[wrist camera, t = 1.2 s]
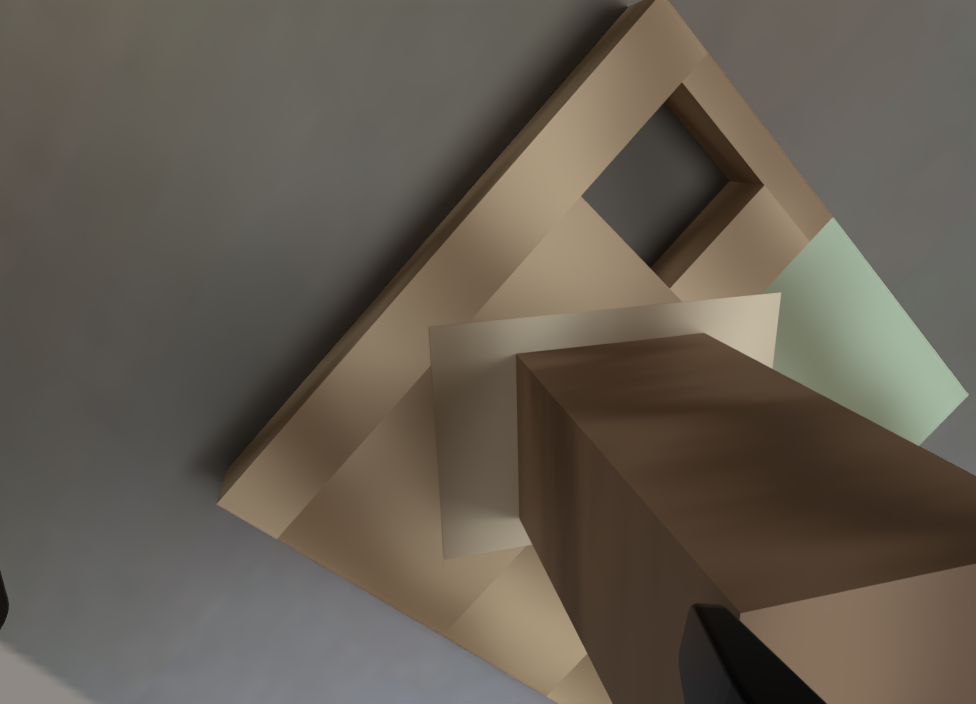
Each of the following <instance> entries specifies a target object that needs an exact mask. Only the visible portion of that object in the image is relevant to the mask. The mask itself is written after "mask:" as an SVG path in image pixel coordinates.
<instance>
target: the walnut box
mask: <svg viewBox="0 0 976 704" xmlns="http://www.w3.org/2000/svg"><path fill="white" fill-rule="evenodd" d="M516 383H517V433H518V483H519V519H520V521H521V523H522V525H523V527H524V529H525V531H526V533H527V535H528V537H529V539H530V541H531V543H532V545H533V547H534V549H535V551H536V553H537V555H538V557H539V559H540V561H541V563H542V565H543V567H544V569H545V571H546V573H547V575H548V577H549V579H550V581H551V583H552V585H553V587H554V589H555V591H556V593H557V595H558V597H559V599H560V601H561V602H562V604H563V606H564V608H565V610H566V612H567V614H568V616H569V618H570V620H571V622H572V624H573V626H574V628H575V630H576V632H577V634H578V636H579V638H580V640H581V642H582V644H583V646H584V648H585V650H586V652H587V654H588V656H589V658H590V660H591V662H592V664H593V666H594V668H595V670H596V672H597V674H598V676H599V678H600V680H601V682H602V684H603V686H604V688H605V690H606V692H607V694H608V696H609V698H610V700H611V702H612V704H685V703H684V697H683V691H682V685H681V679H680V673H679V665H678V654H679V647H680V643H681V639H682V634H683V630H684V626H685V622H686V617H687V613H688V610H689V608H690V606H691V605H693V604H695V603H705V604H719V605H723V606H724V607H726V608H727V609H729V610H730V611H731V612H732V613H733V614H734V615H735V616H736V617H737V618H738V619H739V620H740V621H741V622H742V623H743V624H744V625H745V626H746V627H748V628H749V629H750V630H751V631H752V632H753V633H754V634H755V635H756V636H757V637H758V638H759V639H760V640H761V641H762V642H763V643H764V644H765V645H766V646H767V647H768V648H769V649H771V650H772V651H773V652H774V653H775V654H776V655H777V656H778V657H779V658H780V659H781V660H782V661H783V662H784V663H785V664H786V665H787V666H788V667H789V668H790V669H791V670H793V671H794V672H795V673H796V674H797V675H798V676H799V677H800V678H801V679H802V680H803V681H804V682H805V683H806V684H807V685H808V686H809V687H810V688H811V689H812V690H813V691H814V692H816V693H817V694H818V695H819V696H820V697H821V698H822V699H823V700H824V701H825V702H826V703H827V704H976V476H975V475H973V474H971V473H969V472H967V471H965V470H963V469H961V468H960V467H958V466H956V465H954V464H952V463H950V462H948V461H946V460H944V459H942V458H941V457H939V456H937V455H935V454H933V453H931V452H929V451H927V450H925V449H924V448H922V447H920V446H918V445H916V444H914V443H912V442H910V441H908V440H906V439H905V438H903V437H901V436H899V435H897V434H895V433H893V432H891V431H889V430H888V429H886V428H884V427H882V426H880V425H878V424H876V423H874V422H872V421H870V420H869V419H867V418H865V417H863V416H861V415H859V414H857V413H855V412H853V411H851V410H850V409H848V408H846V407H844V406H842V405H840V404H838V403H836V402H834V401H833V400H831V399H829V398H827V397H825V396H823V395H821V394H819V393H817V392H815V391H814V390H812V389H810V388H808V387H806V386H804V385H802V384H800V383H798V382H797V381H795V380H793V379H791V378H789V377H787V376H785V375H783V374H781V373H779V372H778V371H776V370H774V369H772V368H770V367H768V366H766V365H764V364H762V363H761V362H759V361H757V360H755V359H753V358H751V357H749V356H747V355H745V354H743V353H742V352H740V351H738V350H736V349H734V348H732V347H730V346H728V345H726V344H725V343H723V342H721V341H719V340H717V339H715V338H713V337H711V336H709V335H707V334H706V333H700V334H690V335H681V336H672V337H663V338H654V339H645V340H636V341H627V342H618V343H608V344H599V345H590V346H581V347H572V348H563V349H554V350H545V351H536V352H527V353H517V354H516Z"/></svg>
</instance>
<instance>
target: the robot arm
mask: <svg viewBox="0 0 976 704" xmlns="http://www.w3.org/2000/svg"><path fill="white" fill-rule="evenodd" d="M8 609H9V601H8V597H7V593H6V590H5V586H4V582H3V579H2V575H1V571H0V629H1V627H2V626H3V624H4V622H5V620H6V617H7V614H8ZM678 665H679V673H680V679H681V685H682V691H683V697H684V703H685V704H827V703H826V702H825V701H824V700H823V699H822V698H821V697H820V696H819V695H818V694H817V693H816V692H814V691H813V690H812V689H811V688H810V687H809V686H808V685H807V684H806V683H805V682H804V681H803V680H802V679H801V678H800V677H799V676H798V675H797V674H796V673H795V672H794V671H793V670H791V669H790V668H789V667H788V666H787V665H786V664H785V663H784V662H783V661H782V660H781V659H780V658H779V657H778V656H777V655H776V654H775V653H774V652H773V651H772V650H771V649H769V648H768V647H767V646H766V645H765V644H764V643H763V642H762V641H761V640H760V639H759V638H758V637H757V636H756V635H755V634H754V633H753V632H752V631H751V630H750V629H749V628H748V627H746V626H745V625H744V624H743V623H742V622H741V621H740V620H739V619H738V618H737V617H736V616H735V615H734V614H733V613H732V612H731V611H730V610H729V609H727V608H726V607H724V606H723V605H719V604H705V603H695V604H693V605H691V606H690V608H689V610H688V613H687V617H686V622H685V626H684V630H683V634H682V639H681V643H680V647H679V654H678Z"/></svg>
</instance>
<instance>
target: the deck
mask: <svg viewBox="0 0 976 704" xmlns="http://www.w3.org/2000/svg"><path fill="white" fill-rule="evenodd" d="M700 333H706V334H707V335H709V336H711V337H713V338H715V339H717V340H719V341H721V342H723V343H725V344H726V345H728V346H730V347H732V348H734V349H736V350H738V351H740V352H742V353H743V354H745V355H747V356H749V357H751V358H753V359H755V360H757V361H759V362H761V363H762V364H764V365H766V366H768V367H770V368H772V369H774V370H776V371H778V372H779V373H781V374H783V375H785V376H787V377H789V378H791V379H793V380H795V381H797V382H798V383H800V384H802V385H804V386H806V387H808V388H810V389H812V390H814V391H815V392H817V393H819V394H821V395H823V396H825V397H827V398H829V399H831V400H833V401H834V402H836V403H838V404H840V405H842V406H844V407H846V408H848V409H850V410H851V411H853V412H855V413H857V414H859V415H861V416H863V417H865V418H867V419H869V420H870V421H872V422H874V423H876V424H878V425H880V426H882V427H884V428H886V429H888V430H889V431H891V432H893V433H895V434H897V435H899V436H901V437H903V438H905V439H906V440H908V441H910V442H912V443H914V444H916V445H918V446H919V445H920V444H921V443H922V442H923V441H924V440H925V439H926V438H927V437H928V436H929V435H930V434H931V433H932V432H933V431H934V430H935V429H936V428H937V427H938V426H939V425H940V424H941V423H942V422H943V421H944V420H945V419H946V418H947V417H948V416H949V415H950V414H951V413H952V411H953V410H954V409H955V408H956V407H957V406H958V405H959V404H960V403H961V402H962V401H963V400H964V399H965V398H966V397H967V396H968V393H967V392H966V391H965V390H964V388H963V387H962V386H961V384H960V383H959V382H958V380H957V379H956V378H955V376H954V375H953V374H952V372H951V371H950V370H949V369H948V367H947V366H946V365H945V363H944V362H943V361H942V359H941V358H940V357H939V355H938V354H937V353H936V351H935V350H934V349H933V348H932V346H931V345H930V344H929V342H928V341H927V340H926V338H925V337H924V336H923V334H922V333H921V332H920V330H919V329H918V328H917V327H916V325H915V324H914V323H913V321H912V320H911V319H910V317H909V316H908V315H907V313H906V312H905V311H904V309H903V308H902V307H901V306H900V304H899V303H898V302H897V300H896V299H895V298H894V296H893V295H892V294H891V292H890V291H889V290H888V288H887V287H886V286H885V285H884V283H883V282H882V281H881V279H880V278H879V277H878V275H877V274H876V273H875V271H874V270H873V269H872V267H871V266H870V265H869V264H868V262H867V261H866V260H865V258H864V257H863V256H862V254H861V253H860V252H859V250H858V249H857V248H856V246H855V245H854V244H853V243H852V241H851V240H850V239H849V237H848V236H847V235H846V233H845V232H844V231H843V229H842V228H841V227H840V225H839V224H838V223H837V222H836V220H835V219H834V218H833V216H832V215H831V214H830V212H829V211H828V210H827V208H826V207H825V206H824V204H823V203H822V202H821V201H820V199H819V198H818V197H817V195H816V194H815V193H814V191H813V190H812V189H811V187H810V186H809V185H808V183H807V182H806V181H805V180H804V178H803V177H802V176H801V174H800V173H799V172H798V170H797V169H796V168H795V166H794V165H793V164H792V162H791V161H790V160H789V159H788V157H787V156H786V155H785V153H784V152H783V151H782V149H781V148H780V147H779V145H778V144H777V143H776V141H775V140H774V139H773V138H772V136H771V135H770V134H769V132H768V131H767V130H766V128H765V127H764V126H763V124H762V123H761V122H760V120H759V119H758V118H757V117H756V115H755V114H754V113H753V111H752V110H751V109H750V107H749V106H748V105H747V103H746V102H745V101H744V99H743V98H742V97H741V96H740V94H739V93H738V92H737V90H736V89H735V88H734V86H733V85H732V84H731V82H730V81H729V80H728V78H727V77H726V76H725V75H724V73H723V72H722V71H721V69H720V68H719V67H718V65H717V64H716V63H715V61H714V60H713V59H712V57H711V56H710V55H709V54H708V52H707V51H706V50H705V48H704V47H703V46H702V44H701V43H700V42H699V40H698V39H697V38H696V36H695V35H694V34H693V33H692V31H691V30H690V29H689V27H688V26H687V25H686V23H685V22H684V21H683V19H682V18H681V17H680V15H679V14H678V13H677V12H676V10H675V9H674V8H673V6H672V5H671V4H670V2H669V1H668V0H643V1H641V2H638V3H636V4H633V5H631V6H629V7H628V8H627V9H626V10H625V11H624V12H623V14H622V15H621V16H620V17H619V18H618V19H617V20H616V22H615V23H614V24H613V25H612V26H611V27H610V29H609V30H608V31H607V32H606V33H605V34H604V35H603V37H602V38H601V39H600V40H599V41H598V42H597V44H596V45H595V46H594V47H593V48H592V49H591V50H590V52H589V53H588V54H587V55H586V56H585V57H584V59H583V60H582V61H581V62H580V63H579V64H578V65H577V67H576V68H575V69H574V70H573V71H572V72H571V73H570V75H569V76H568V77H567V78H566V79H565V80H564V82H563V83H562V84H561V85H560V86H559V87H558V88H557V90H556V91H555V92H554V93H553V94H552V95H551V97H550V98H549V99H548V100H547V101H546V102H545V103H544V105H543V106H542V107H541V108H540V109H539V110H538V112H537V113H536V114H535V115H534V116H533V117H532V118H531V120H530V121H529V122H528V123H527V124H526V125H525V127H524V128H523V129H522V130H521V131H520V132H519V133H518V135H517V136H516V137H515V138H514V139H513V140H512V142H511V143H510V144H509V145H508V146H507V147H506V148H505V150H504V151H503V152H502V153H501V154H500V155H499V156H498V158H497V159H496V160H495V161H494V162H493V163H492V165H491V166H490V167H489V168H488V169H487V170H486V171H485V173H484V174H483V175H482V176H481V177H480V178H479V180H478V181H477V182H476V183H475V184H474V185H473V186H472V188H471V189H470V190H469V191H468V192H467V193H466V195H465V196H464V197H463V198H462V199H461V200H460V201H459V203H458V204H457V205H456V206H455V207H454V208H453V210H452V211H451V212H450V213H449V214H448V215H447V216H446V218H445V219H444V220H443V221H442V222H441V223H440V225H439V226H438V227H437V228H436V229H435V230H434V231H433V233H432V234H431V235H430V236H429V237H428V238H427V240H426V241H425V242H424V243H423V244H422V245H421V246H420V248H419V249H418V250H417V251H416V252H415V253H414V254H413V256H412V257H411V258H410V259H409V260H408V261H407V263H406V264H405V265H404V266H403V267H402V268H401V269H400V271H399V272H398V273H397V274H396V275H395V276H394V278H393V279H392V280H391V281H390V282H389V283H388V284H387V286H386V287H385V288H384V289H383V290H382V291H381V293H380V294H379V295H378V296H377V297H376V298H375V299H374V301H373V302H372V303H371V304H370V305H369V306H368V308H367V309H366V310H365V311H364V312H363V313H362V314H361V316H360V317H359V318H358V319H357V320H356V321H355V323H354V324H353V325H352V326H351V327H350V328H349V329H348V331H347V332H346V333H345V334H344V335H343V336H342V338H341V339H340V340H339V341H338V342H337V343H336V344H335V346H334V347H333V348H332V349H331V350H330V351H329V352H328V354H327V355H326V356H325V357H324V358H323V359H322V361H321V362H320V363H319V364H318V365H317V366H316V367H315V369H314V370H313V371H312V372H311V373H310V374H309V376H308V377H307V378H306V379H305V380H304V381H303V382H302V384H301V385H300V386H299V387H298V388H297V389H296V391H295V392H294V393H293V394H292V395H291V396H290V397H289V399H288V400H287V401H286V402H285V403H284V404H283V406H282V407H281V408H280V409H279V410H278V411H277V412H276V414H275V415H274V416H273V417H272V418H271V419H270V421H269V422H268V423H267V424H266V425H265V426H264V427H263V429H262V430H261V431H260V432H259V433H258V434H257V435H256V437H255V438H254V439H253V440H252V441H251V442H250V444H249V445H248V446H247V447H246V448H245V449H244V450H243V452H242V453H241V454H240V455H239V456H238V457H237V459H236V460H235V461H234V462H233V463H232V464H231V465H230V467H229V468H228V469H227V470H226V473H225V477H224V480H223V484H222V487H221V490H220V494H219V497H218V501H217V505H219V506H220V507H222V508H224V509H225V510H227V511H229V512H231V513H232V514H234V515H236V516H238V517H239V518H241V519H243V520H244V521H246V522H248V523H250V524H251V525H253V526H255V527H256V528H258V529H260V530H262V531H263V532H265V533H267V534H268V535H270V536H272V537H274V538H275V539H277V540H279V541H280V542H282V543H284V544H286V545H287V546H289V547H291V548H292V549H294V550H296V551H298V552H299V553H301V554H303V555H304V556H306V557H308V558H310V559H311V560H313V561H315V562H316V563H318V564H320V565H322V566H323V567H325V568H327V569H328V570H330V571H332V572H334V573H335V574H337V575H339V576H340V577H342V578H344V579H346V580H347V581H349V582H351V583H352V584H354V585H356V586H358V587H359V588H361V589H363V590H364V591H366V592H368V593H370V594H371V595H373V596H375V597H376V598H378V599H380V600H382V601H383V602H385V603H387V604H388V605H390V606H392V607H394V608H395V609H397V610H399V611H400V612H402V613H404V614H406V615H407V616H409V617H411V618H412V619H414V620H416V621H418V622H419V623H421V624H423V625H424V626H426V627H428V628H430V629H431V630H433V631H435V632H436V633H438V634H440V635H442V636H443V637H445V638H447V639H448V640H450V641H452V642H454V643H455V644H457V645H459V646H460V647H462V648H464V649H466V650H467V651H469V652H471V653H472V654H474V655H476V656H478V657H479V658H481V659H483V660H484V661H486V662H488V663H490V664H491V665H493V666H495V667H496V668H498V669H500V670H502V671H503V672H505V673H507V674H508V675H510V676H512V677H514V678H515V679H517V680H519V681H520V682H522V683H524V684H526V685H527V686H529V687H531V688H532V689H534V690H536V691H538V692H539V693H541V694H543V695H544V696H546V697H548V698H550V699H551V700H553V701H555V702H556V703H558V704H612V702H611V700H610V698H609V696H608V694H607V692H606V690H605V688H604V686H603V684H602V682H601V680H600V678H599V676H598V674H597V672H596V670H595V668H594V666H593V664H592V662H591V660H590V658H589V656H588V654H587V652H586V650H585V648H584V646H583V644H582V642H581V640H580V638H579V636H578V634H577V632H576V630H575V628H574V626H573V624H572V622H571V620H570V618H569V616H568V614H567V612H566V610H565V608H564V606H563V604H562V602H561V601H560V599H559V597H558V595H557V593H556V591H555V589H554V587H553V585H552V583H551V581H550V579H549V577H548V575H547V573H546V571H545V569H544V567H543V565H542V563H541V561H540V559H539V557H538V555H537V553H536V551H535V549H534V547H533V545H532V543H531V541H530V539H529V537H528V535H527V533H526V531H525V529H524V527H523V525H522V523H521V521H520V519H519V483H518V433H517V383H516V354H517V353H527V352H536V351H545V350H554V349H563V348H572V347H581V346H590V345H599V344H608V343H618V342H627V341H636V340H645V339H654V338H663V337H672V336H681V335H690V334H700Z"/></svg>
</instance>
